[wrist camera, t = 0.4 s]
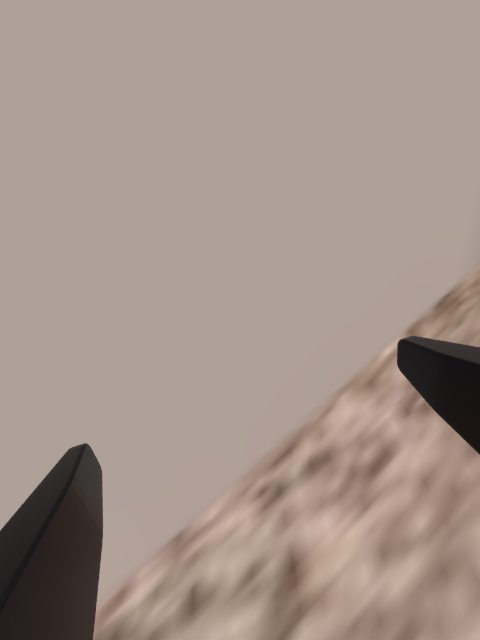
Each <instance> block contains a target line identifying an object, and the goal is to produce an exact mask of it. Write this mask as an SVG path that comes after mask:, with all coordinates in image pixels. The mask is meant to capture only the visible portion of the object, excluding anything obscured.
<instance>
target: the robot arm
mask: <svg viewBox="0 0 480 640" xmlns="http://www.w3.org/2000/svg"><path fill="white" fill-rule="evenodd" d="M397 365H398V368H399V370H400V371H401V372H402V374H403V375H404V376H405V377H406V378H407V379H408V381H409V382H410V383H411V384H412V385H413V386H414V388H415V389H416V390H417V391H418V392H419V393H420V395H421V396H422V397H423V398H424V399H425V400H426V402H427V403H428V404H429V405H430V406H431V407H432V408H433V409H434V411H435V412H436V413H437V414H438V415H439V416H440V417H441V418H442V419H443V420H444V421H446V422H447V423H448V424H449V425H450V426H451V427H452V428H453V429H454V430H455V431H456V432H457V433H458V434H459V435H460V436H461V437H462V438H463V439H464V440H465V441H466V442H467V443H468V444H469V445H470V446H471V447H472V448H473V449H474V450H475V451H476V452H478V453H479V454H480V347H474V346H469V345H463V344H457V343H451V342H446V341H440V340H434V339H429V338H423V337H417V336H409V337H406V338H403V339H401V340H399V342H398V349H397ZM102 504H103V498H102V470H101V466H100V464H99V462H98V460H97V458H96V456H95V455H94V453H93V451H92V449H91V447H90V446H89V445H88V444H86V443H84V444H81V445H78V446H75V447H72V448H70V449H69V450H68V451H67V452H66V453H65V454H64V456H63V457H62V458H61V459H60V460H59V462H58V463H57V464H56V465H55V467H53V469H52V470H51V471H50V472H49V473H48V475H47V476H46V477H45V478H44V479H43V481H42V482H41V483H40V484H39V485H38V487H37V488H36V489H35V490H34V491H33V493H32V494H31V495H30V496H29V497H28V498H27V500H26V501H25V502H24V503H23V504H22V505H21V507H20V508H19V509H18V510H17V512H16V513H15V514H14V515H13V516H12V517H11V519H10V520H9V521H8V522H7V523H6V525H5V526H4V527H3V528H2V529H1V531H0V640H93V633H94V623H95V613H96V603H97V592H98V582H99V571H100V561H101V551H102V538H103V505H102Z"/></svg>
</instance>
